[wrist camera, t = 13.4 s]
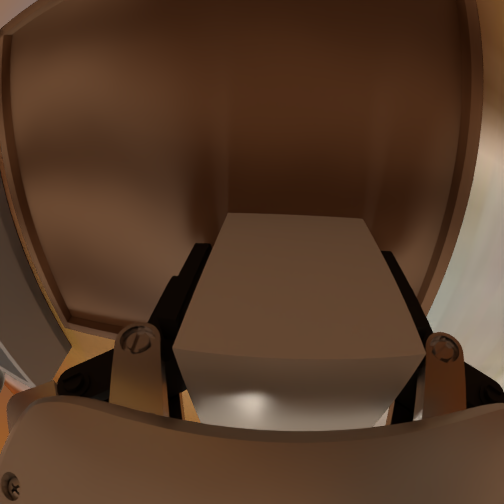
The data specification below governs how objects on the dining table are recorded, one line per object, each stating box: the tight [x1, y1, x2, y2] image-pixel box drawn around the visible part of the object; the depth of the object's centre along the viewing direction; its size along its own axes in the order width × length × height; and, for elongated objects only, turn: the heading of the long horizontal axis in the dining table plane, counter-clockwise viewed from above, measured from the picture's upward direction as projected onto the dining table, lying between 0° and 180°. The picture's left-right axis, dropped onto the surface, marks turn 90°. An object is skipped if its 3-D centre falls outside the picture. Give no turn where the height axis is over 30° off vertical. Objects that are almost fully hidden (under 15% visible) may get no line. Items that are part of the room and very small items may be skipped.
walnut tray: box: [0, 0, 483, 340], centre depth 9 cm, size 18×20×1 cm
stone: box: [172, 213, 426, 431], centre depth 8 cm, size 5×5×6 cm
